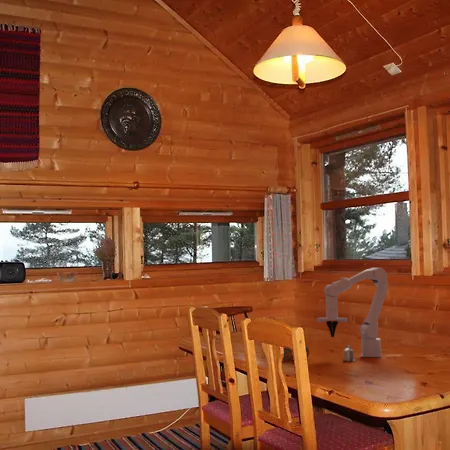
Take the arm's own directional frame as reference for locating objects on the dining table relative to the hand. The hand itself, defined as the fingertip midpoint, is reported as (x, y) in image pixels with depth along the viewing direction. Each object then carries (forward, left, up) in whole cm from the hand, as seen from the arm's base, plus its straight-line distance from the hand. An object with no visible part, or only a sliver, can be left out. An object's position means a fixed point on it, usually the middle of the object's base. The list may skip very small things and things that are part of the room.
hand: (332, 336), depth 305 cm
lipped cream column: (-7, +3, -10) cm, 13 cm away
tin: (+18, +8, -11) cm, 22 cm away
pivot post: (-7, -4, -10) cm, 13 cm away
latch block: (-9, +6, -10) cm, 15 cm away
